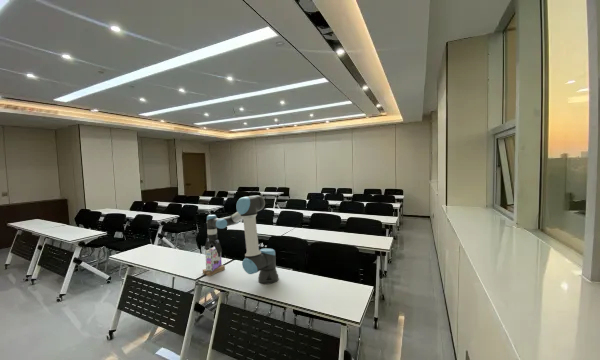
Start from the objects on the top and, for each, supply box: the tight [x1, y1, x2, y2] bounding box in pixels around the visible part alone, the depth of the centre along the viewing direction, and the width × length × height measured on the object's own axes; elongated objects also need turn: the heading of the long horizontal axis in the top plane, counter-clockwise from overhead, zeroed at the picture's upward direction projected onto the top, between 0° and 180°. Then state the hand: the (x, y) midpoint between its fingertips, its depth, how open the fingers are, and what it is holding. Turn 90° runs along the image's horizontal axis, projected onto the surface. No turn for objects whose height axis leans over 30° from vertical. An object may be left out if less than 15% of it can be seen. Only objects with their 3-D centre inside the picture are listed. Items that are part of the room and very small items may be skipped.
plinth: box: [202, 264, 226, 277], centre depth 208 cm, size 9×15×3 cm, turn 146°
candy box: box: [205, 246, 223, 271], centre depth 207 cm, size 14×6×16 cm, turn 165°
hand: (213, 259), depth 207 cm, fingers open, 13 cm apart
